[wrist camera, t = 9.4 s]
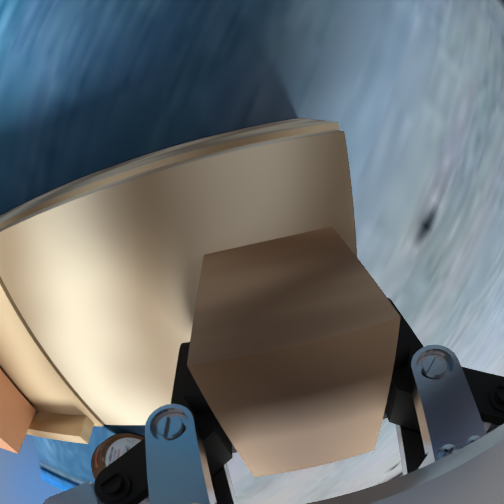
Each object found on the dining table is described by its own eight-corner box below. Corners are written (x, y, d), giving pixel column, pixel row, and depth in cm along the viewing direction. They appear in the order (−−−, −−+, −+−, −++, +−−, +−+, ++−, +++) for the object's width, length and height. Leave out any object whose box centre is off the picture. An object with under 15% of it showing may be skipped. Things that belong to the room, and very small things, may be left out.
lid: (332, 129, 9) (441, 158, 4) (350, 377, 14) (383, 469, 9) (-3, 229, 9) (-87, 300, 4) (109, 411, 14) (89, 491, 9)
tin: (99, 426, 25) (83, 491, 18) (108, 417, 24) (90, 487, 17) (214, 469, 30) (214, 527, 22) (229, 462, 29) (231, 524, 21)
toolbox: (298, 118, 14) (371, 127, 6) (325, 310, 19) (368, 416, 12) (-18, 225, 15) (-94, 285, 7) (52, 354, 20) (13, 432, 12)
